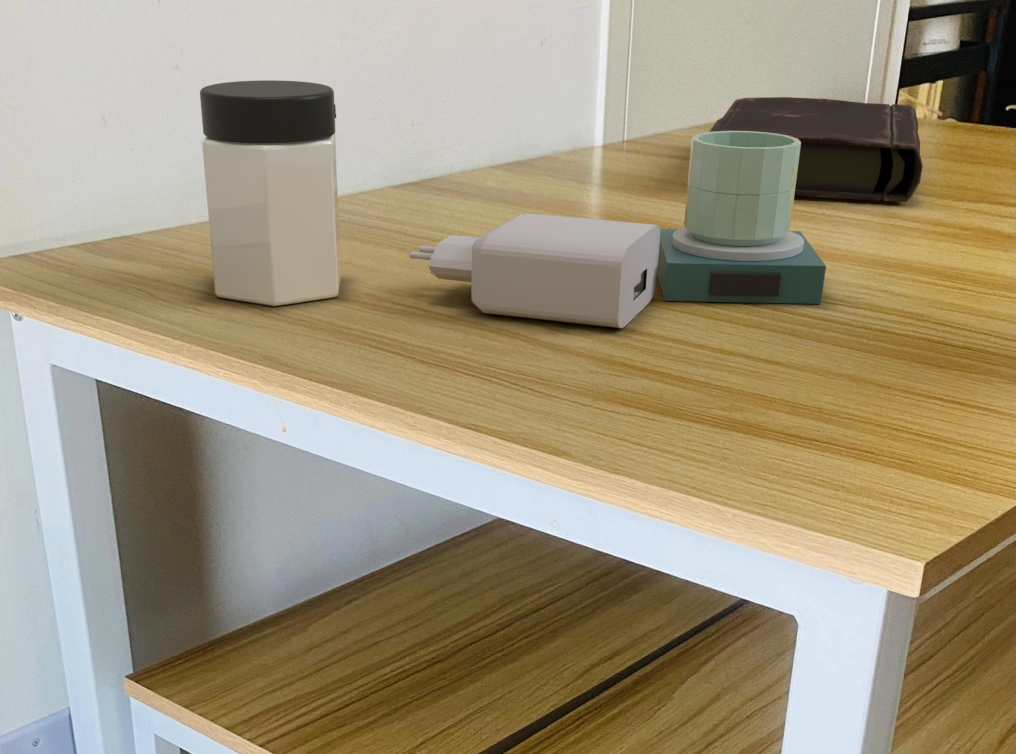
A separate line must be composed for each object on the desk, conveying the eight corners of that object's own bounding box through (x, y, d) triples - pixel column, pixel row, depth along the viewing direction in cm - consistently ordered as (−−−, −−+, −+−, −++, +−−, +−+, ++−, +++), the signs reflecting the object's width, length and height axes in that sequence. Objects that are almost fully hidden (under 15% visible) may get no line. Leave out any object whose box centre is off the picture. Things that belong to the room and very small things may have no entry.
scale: (796, 266, 96) (801, 222, 95) (821, 305, 87) (828, 257, 86) (653, 263, 96) (656, 219, 95) (664, 302, 88) (668, 254, 86)
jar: (371, 283, 91) (365, 86, 85) (303, 312, 85) (291, 101, 78) (259, 267, 94) (245, 76, 88) (186, 294, 88) (166, 90, 82)
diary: (912, 157, 135) (921, 101, 132) (916, 206, 114) (927, 141, 112) (722, 147, 139) (727, 93, 136) (693, 193, 118) (698, 130, 116)
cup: (779, 226, 93) (791, 131, 90) (795, 249, 88) (808, 149, 84) (679, 224, 93) (687, 129, 90) (688, 247, 88) (697, 147, 85)
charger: (441, 274, 93) (656, 296, 89) (387, 308, 86) (618, 334, 81) (441, 201, 91) (662, 220, 86) (385, 229, 83) (623, 251, 79)
